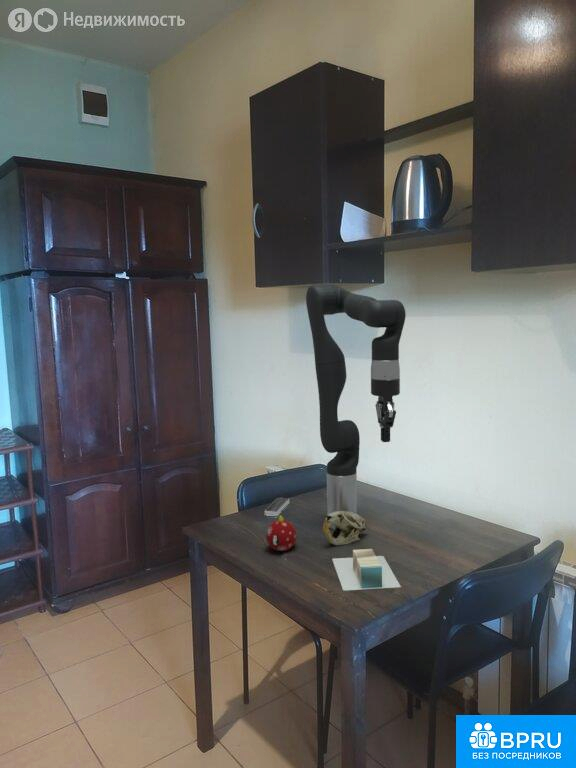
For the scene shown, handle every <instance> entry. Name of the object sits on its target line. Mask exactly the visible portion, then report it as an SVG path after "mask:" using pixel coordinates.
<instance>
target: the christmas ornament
mask: <svg viewBox="0 0 576 768" xmlns="http://www.w3.org/2000/svg"><path fill="white" fill-rule="evenodd" d="M265 535H266V536H265V538H266V542H267V543H268V545H269V546H270V548H271V549H273V550H274V551H276V552H277V551H278V552H284V551H288V550H290V549H292V547H293V546H294V545H295V543H296V541H297V539H298V538H297V530H296V528H295V525H293V524H292V523H291V522H290V521H288V520H286V519H284V516H283V515H279V516H278V520H275V521H273V522H272V523H270V525H269V526H268V527H267V530H266V534H265Z"/></svg>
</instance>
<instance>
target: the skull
mask: <svg viewBox="0 0 576 768" xmlns="http://www.w3.org/2000/svg"><path fill="white" fill-rule="evenodd" d="M331 524H334V525H335V528H334V529H332V532H331V531H330V528H329V526H330V525H331ZM366 528H367V521H366V520H365V518H363V517H362V516H361V515H359V514H358V513H357V514H356V513H353V512H347V511H336V512H333V513H330V514H328V515H326V517H325V519H324V522H323V525H322V531H323V532H324V533H325V536H326V538H327V540H328V542H329V543H330V544H331V545H333V546H344V545H349V544H351V543H353V542H358V541H360V540H361V537H359V534H362V533H363V532H364V531H366Z"/></svg>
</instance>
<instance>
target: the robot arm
mask: <svg viewBox="0 0 576 768" xmlns="http://www.w3.org/2000/svg"><path fill="white" fill-rule="evenodd" d="M305 304H306V311H307V315H308V316H307V317H308V320H309V326H310V331H311V336H312V338H311V339H312V344H313V346H312V347H313V352H314V365H315V374H316V382H317V390H318V391H317V392H318V401H319V402H318V403H319V404H318V405H319V434H320V435H319V436H320V441H321V445H322V447H323V449H324V450H325V451H326V452H327V453H329V454H335V453H336V454H335V456H334V457H333V458H332V459H330V460H329V461H328V462H327V464H326V499H327V500H326V502H327V503H326V504H327V506H326V508H327V515H328V514H330V513H333V512H336V511H347V512H353V513H356V514H358V491H357V490H358V489H357V488H358V485H357V483H358V482H357V481H358V480H357V468H358V465H359V463H360V462H359V461H360V444H361V443H360V442H361V441H360V440H361V439H360V432H359V428H358V426H357V424H356V423H355V422H354V421H352V420H351V419H343V420H339V418H338V410H339V409H338V406H339V402H340V398H341V395H342V393H343V390H344V388H345V385H346V381H347V367H346V366H347V365H346V359H345V355H344V353H343V351H342V349H341V347H340V346H339V345H338V343H337V342H336V341H335V339H334V338H333V337H332V335H331V334H330V332H329V330H328V327H327V323H326V320H325V316H326V315H327V316H329V315H330V316H331V315H336V314H346V316H348V317H349V318H350V319H352V320H355V321H359V322H362V323H364V324H365V325H366V326H367V327H370V328H377V329H379V328H385V330H384V332H383V335H380V336H377V337H374V338H373V339H372V341H371V365H370V394H371V395H372V396H375V397H377V401H376V403H375V409H376V416H377V422H378V425H379V428H380V441H381V442H383V443H389V442H391V429H392V428H393V427H394V423H395V419H396V414H397V410H396V409H395V402H394V399H393V397H394V396H395V397H397V396H399V395H400V394H401V379H400V377H401V368H400V367H401V366H400V360H399V358H400V352H399V351H400V347H399V346H400V340H401V337H402V333H403V328H404V326H405V322H406V317H407V316H406V309H405V306H404V304H403V302H401V301H399V300H396V299H382V300H381V299H380V300H378V299H376V298H374V297H372V296H368V295H363V294H357V293H353V292H351V291H349V290H347V289H345V288H343V287H341V286H339V285H336V284H314V285H310V286H309V287H308V288H307V290H306V295H305ZM327 515H326V516H327ZM334 528H335V525H334V524H331V525H330V526H329V528H328V529H331V530H334Z"/></svg>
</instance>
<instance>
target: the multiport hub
mask: <svg viewBox="0 0 576 768" xmlns="http://www.w3.org/2000/svg"><path fill="white" fill-rule="evenodd" d="M288 504H289V505H290V498H288V497H277V498H275V500H274V501H272V502H271V504H270V505H269V506H268V507H267V508H266V509H265V510H264V516H265V515H266V516H278V515H279V514H280V513H281V511H282V510H283V509H284V508H285V507H286V506H287V505H288ZM289 505H288V506H289ZM288 506H287V507H288ZM287 507H286V508H287ZM286 508H285V509H286ZM285 509H284V510H285ZM284 510H283V511H284ZM281 514H282V513H281ZM281 514H280V515H281ZM280 515H279V516H280ZM279 516H278V517H279Z"/></svg>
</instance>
